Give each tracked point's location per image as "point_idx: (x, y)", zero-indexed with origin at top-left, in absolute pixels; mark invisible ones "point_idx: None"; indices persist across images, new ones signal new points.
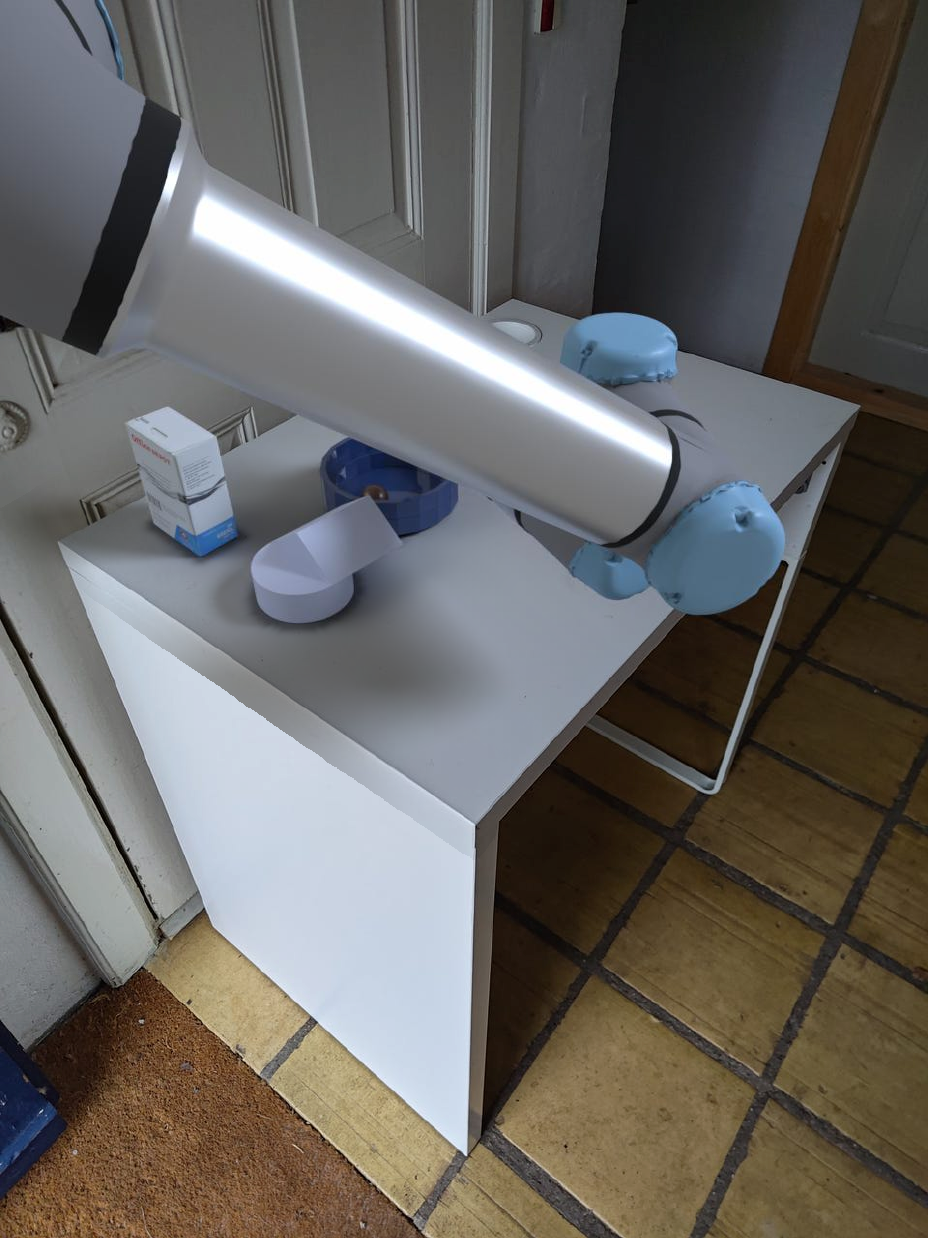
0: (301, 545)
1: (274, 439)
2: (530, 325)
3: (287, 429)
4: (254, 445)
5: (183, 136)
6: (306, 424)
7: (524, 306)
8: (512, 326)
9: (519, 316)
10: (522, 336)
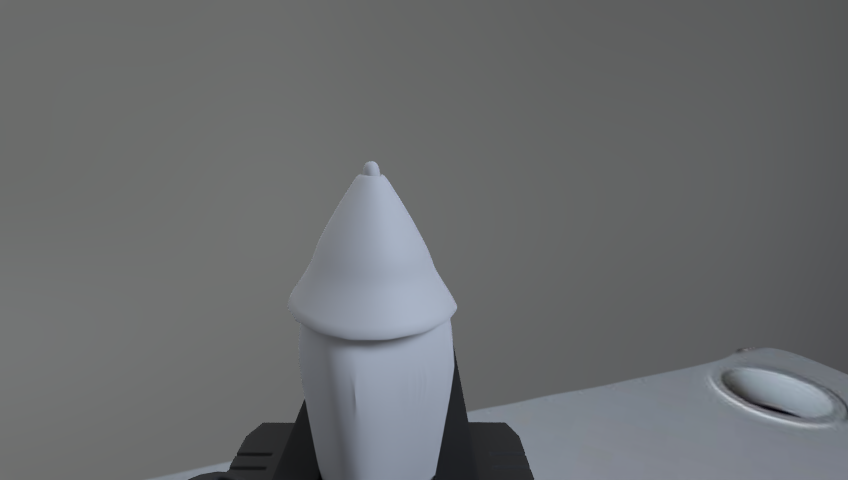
0: None
1: None
2: (818, 386)
3: None
4: (229, 468)
5: None
6: None
7: (799, 355)
8: (781, 380)
9: (792, 368)
10: (805, 401)
